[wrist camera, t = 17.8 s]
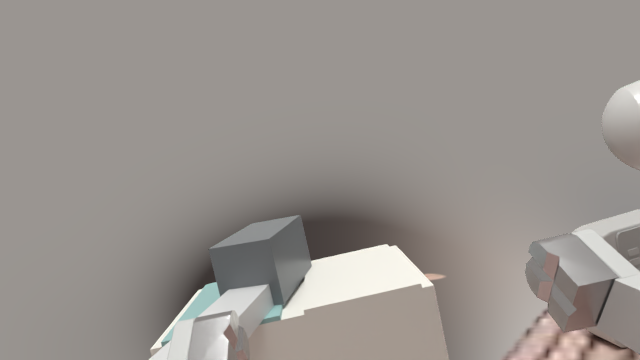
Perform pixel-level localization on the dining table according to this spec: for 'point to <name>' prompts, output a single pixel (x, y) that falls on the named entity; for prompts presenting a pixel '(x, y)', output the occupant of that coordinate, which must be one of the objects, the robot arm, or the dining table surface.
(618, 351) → the dining table surface
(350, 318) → the stand
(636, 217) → the rounded white slab
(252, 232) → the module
